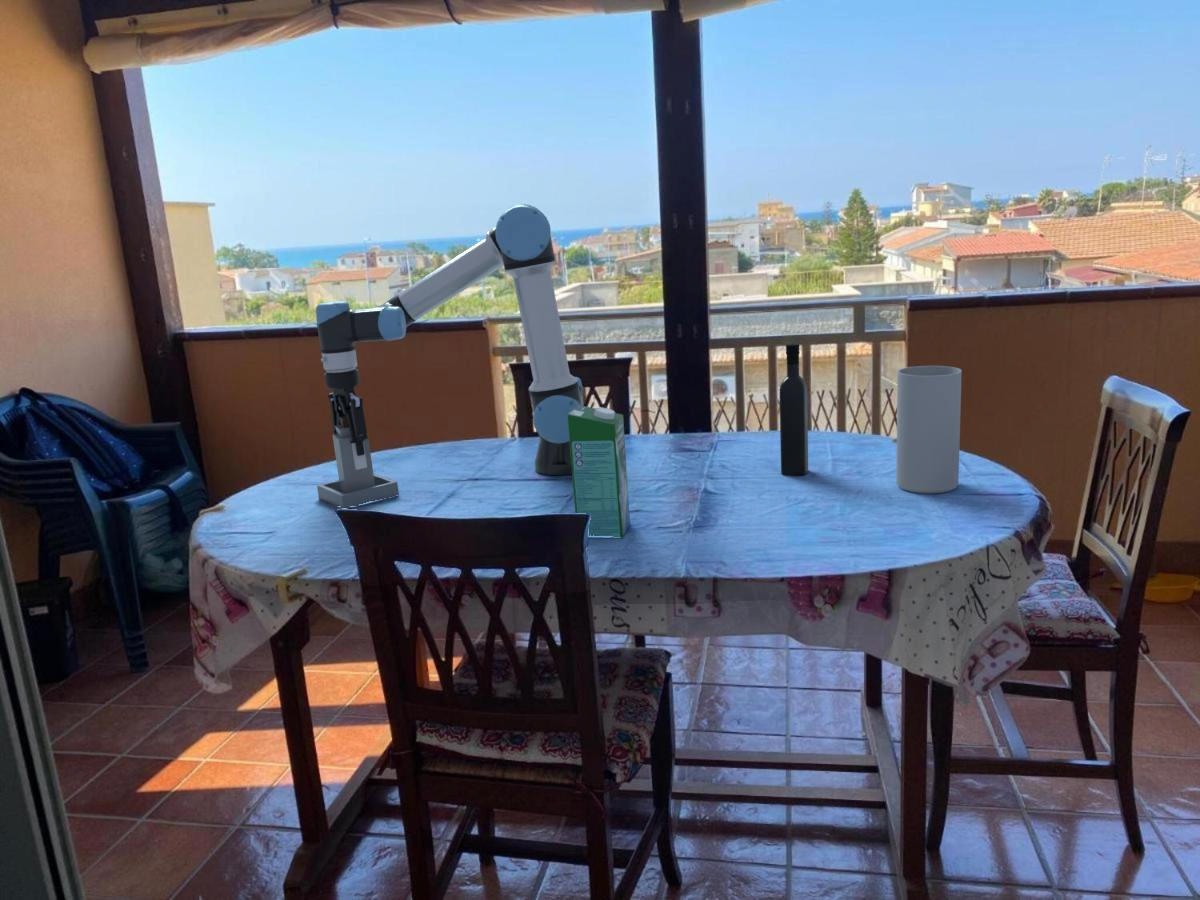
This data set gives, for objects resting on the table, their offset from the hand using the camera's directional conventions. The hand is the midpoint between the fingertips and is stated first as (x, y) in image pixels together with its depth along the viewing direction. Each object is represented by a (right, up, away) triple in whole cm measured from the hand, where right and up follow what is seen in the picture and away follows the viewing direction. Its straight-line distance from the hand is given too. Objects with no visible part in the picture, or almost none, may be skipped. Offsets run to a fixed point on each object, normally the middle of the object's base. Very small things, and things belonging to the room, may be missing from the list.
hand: (354, 465), depth 214 cm
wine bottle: (+104, -2, -3) cm, 104 cm away
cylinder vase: (+128, -4, -20) cm, 130 cm away
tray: (0, -8, +2) cm, 8 cm away
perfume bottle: (0, -6, +1) cm, 6 cm away
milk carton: (+59, -13, -34) cm, 69 cm away
